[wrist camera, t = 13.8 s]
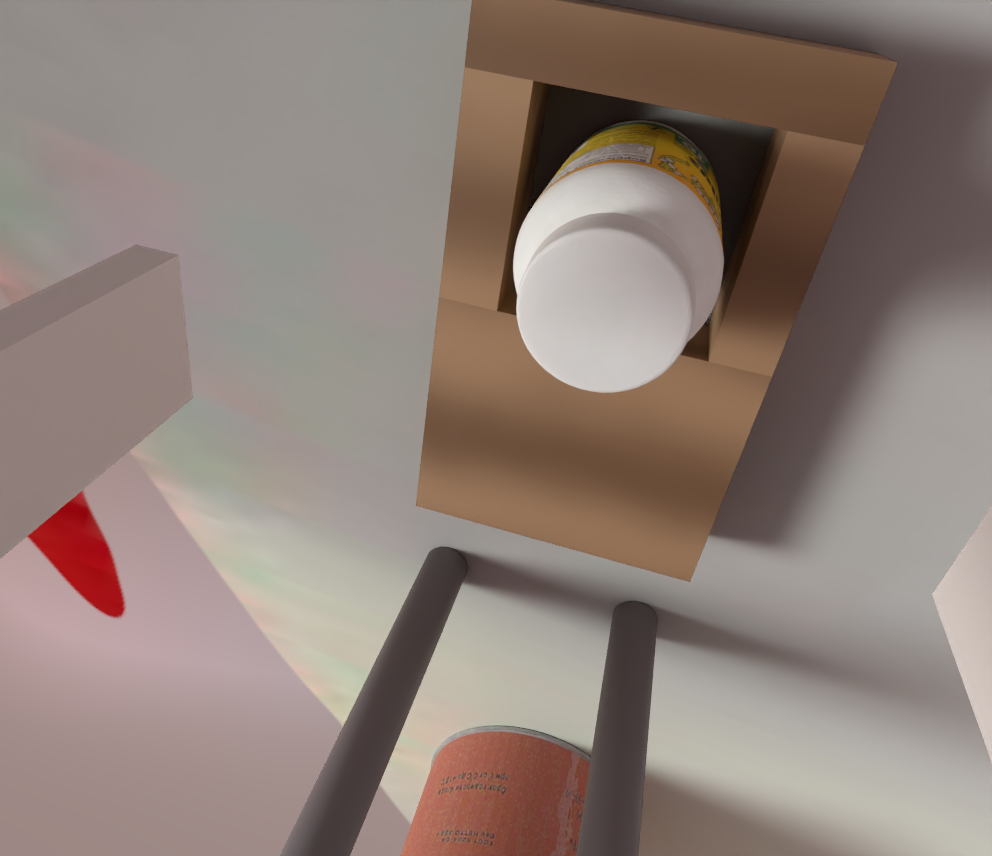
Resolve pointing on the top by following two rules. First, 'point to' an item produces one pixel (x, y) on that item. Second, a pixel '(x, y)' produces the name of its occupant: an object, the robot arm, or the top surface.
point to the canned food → (501, 796)
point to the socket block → (707, 355)
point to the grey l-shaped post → (392, 689)
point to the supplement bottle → (620, 258)
